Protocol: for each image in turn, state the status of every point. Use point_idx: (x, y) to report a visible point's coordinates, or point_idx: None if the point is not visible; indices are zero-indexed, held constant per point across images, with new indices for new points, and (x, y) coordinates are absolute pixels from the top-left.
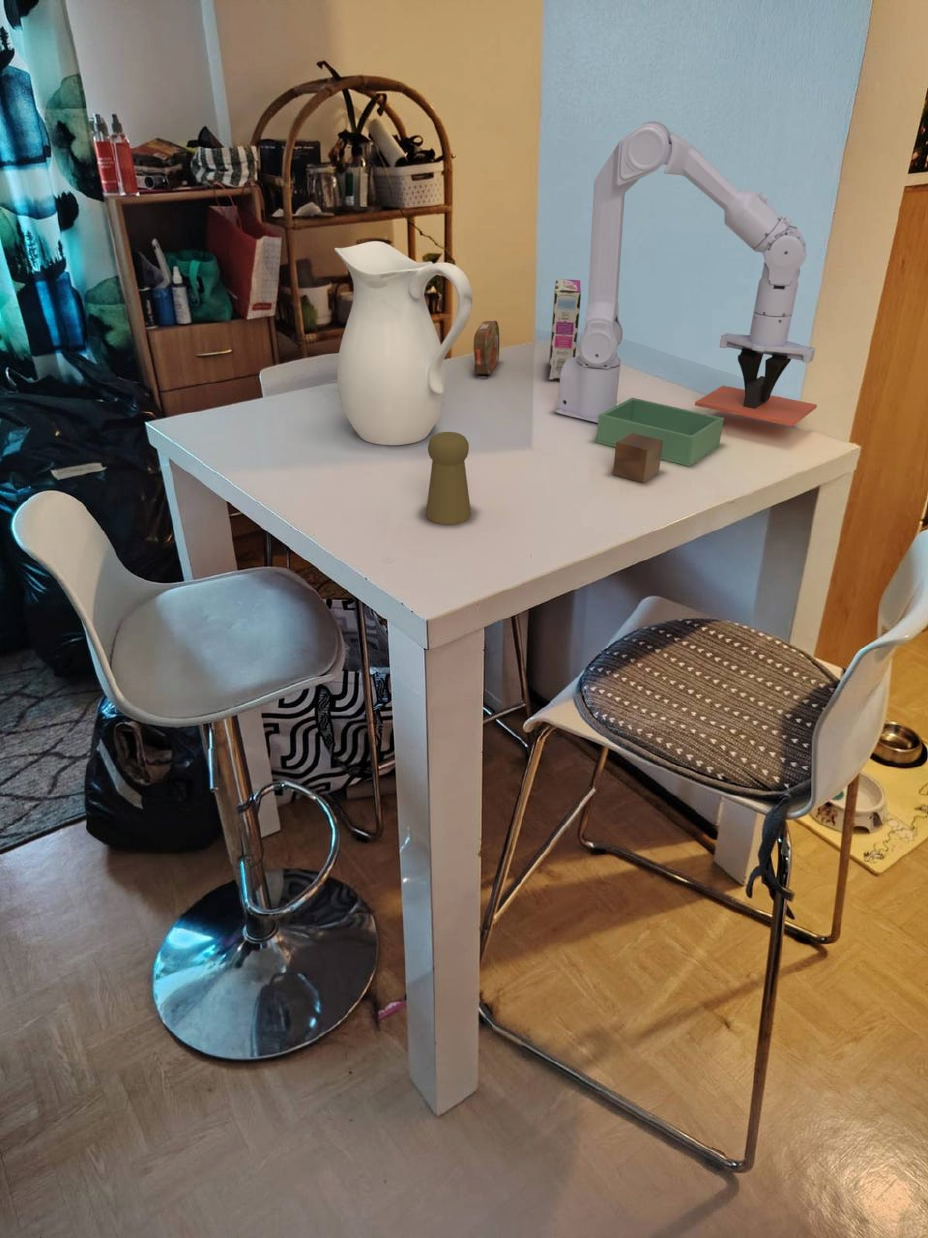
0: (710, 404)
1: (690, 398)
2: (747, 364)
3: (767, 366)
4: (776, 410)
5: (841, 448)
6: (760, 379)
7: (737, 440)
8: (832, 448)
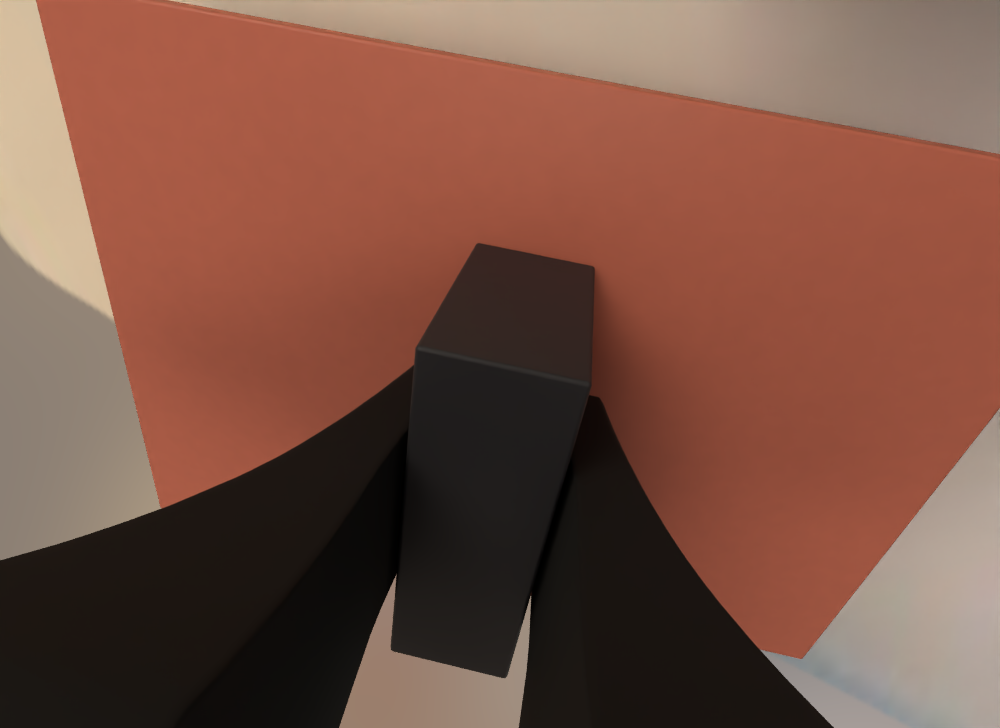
0: (962, 176)
1: (927, 628)
2: (665, 703)
3: (196, 622)
4: (309, 290)
5: (16, 214)
6: (483, 593)
7: (576, 14)
8: (45, 190)
